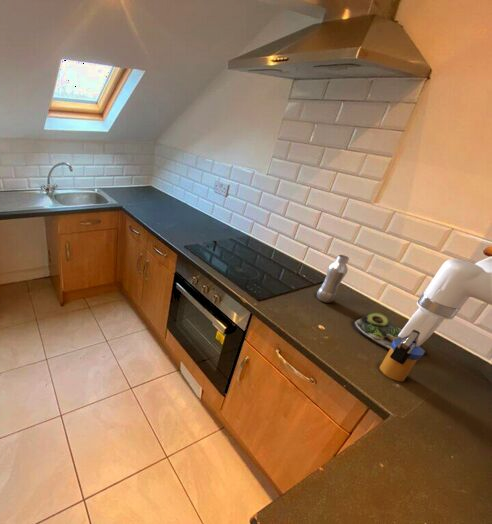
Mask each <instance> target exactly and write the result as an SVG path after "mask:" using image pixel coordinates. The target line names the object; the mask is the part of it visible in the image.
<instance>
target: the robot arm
mask: <svg viewBox="0 0 492 524" xmlns="http://www.w3.org/2000/svg"><path fill="white" fill-rule="evenodd" d="M470 298H473V299H476V300H479V301H481V302H483V303H486V304H488V305H491V306H492V256H491V255H490V256H489V257H486V258H484V259H481V260H479V261H477V262H475V263H473V262H470V261H467V260H463V259H457V258H449V259H447V260H446V261H444V262H443V264H441V266H440V267H439V269H438V271H437V272H436V274H435V275H434V277H433V278H432V279H431V281H430V283H429V284H428V285H427V287H426V288H425V289H424V291H423V292H422V294H421V296H420V297H419V299H417V302H416V306H417V307H418V308H417V310H416V311H415V312H414V313H413V314H412V316H411V317H410V318H409V320H408V321H407V323H405V325H404V327H403V328H402V329H401V330H402V331H401V332H400V333H399V335H398V337H399V338H400V337H401V338H404V337H405V338H404V339H403V340H402V342H401V343H400V344H399V346H397V347H396V348H395V350H394V351H393V353H392V354H391V356H390V358H392V359H393V360H395V361H397V362H399V363H400V364H404V363H405V361H406V360H407V359H408V357H409V356H410V355H411V353H410V352H411V351H412V350H413V349H414V347H415V346H420V347H421V345H423V343H425V342H426V341H427V340H428V339H429V338H430V337H431V336H432V335H433V334H434V333H435V332H436V330H438V328H439V327H440V326H441V324H443V322H444V320H454V318H455V316H456V315H458V313H459V311H461V309H462V308H463V306H464V305H465V304H466V302H467V301H468V300H469V299H470ZM412 342H413V343H412ZM414 343H415V344H414ZM410 344H411V345H412V347H411V348H410V347H409V346H410Z"/></svg>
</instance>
